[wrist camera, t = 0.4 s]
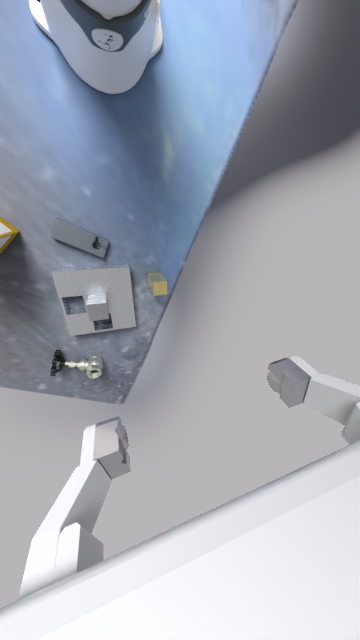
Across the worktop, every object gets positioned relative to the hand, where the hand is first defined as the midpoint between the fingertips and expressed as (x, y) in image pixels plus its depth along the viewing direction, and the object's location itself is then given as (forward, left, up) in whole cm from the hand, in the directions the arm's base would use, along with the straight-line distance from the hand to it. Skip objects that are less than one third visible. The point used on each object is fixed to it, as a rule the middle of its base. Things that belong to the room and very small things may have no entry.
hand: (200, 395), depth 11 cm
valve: (+29, -17, -45) cm, 56 cm away
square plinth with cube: (+12, -9, -44) cm, 47 cm away
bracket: (-2, -10, -45) cm, 46 cm away
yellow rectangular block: (+8, +5, -44) cm, 46 cm away
